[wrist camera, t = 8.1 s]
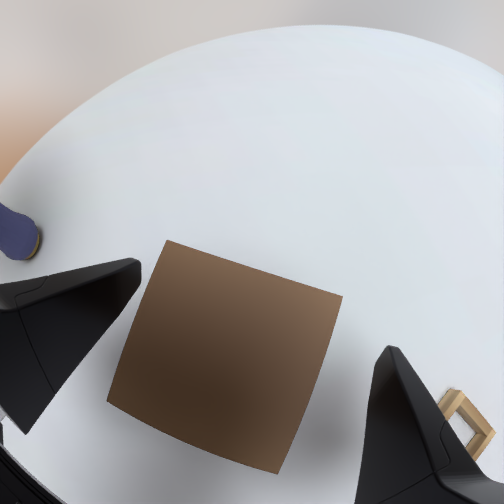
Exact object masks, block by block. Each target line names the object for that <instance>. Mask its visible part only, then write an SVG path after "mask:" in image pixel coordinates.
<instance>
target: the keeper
mask: <svg viewBox="0 0 504 504" xmlns="http://www.w3.org/2000/svg"><path fill="white" fill-rule="evenodd" d="M438 407H439V408H440V410H441V411H442V413H443V415H444V416H445V418H446V419H445V420H447V421H448V420H449V419H450V417H451V416H452V415H453V413H454V412H455V411H457V412H458V413H459V414H460V415H461V416H462V418H463V419H464V420H465V421H466V422H467V423H468V424H469V425H470V426H471V428H472V429H473V430H474V431H475V432H476V434H475V436H474V437H473V439H472V440H471V441H470V443H469V444H468V445H467V446H466V450H467V451H468V453H469V454H470V455H471V457H472V458H473V460H474V461H476V460H477V459H478V457H479V456H480V455H481V453H482V452H483V451H484V449H485V448H486V447H487V445H488V444H489V442H490V441H491V439H492V438H493V437H494V435H495V434H496V432H495V430H494V429H493V428H492V427H491V426H490V424H489V423H488V422H487V421H486V419H485V418H484V417H483V416H482V415H481V413H480V412H479V411H478V410H477V409H476V407H475V406H474V405H473V404H472V403H471V402H470V400H469V399H468V398H467V397H466V396H465V395H464V393H463V392H462V391H461V390H454V389H449V390H448V392H447V393H446V394H445V396H444V397H443V398H442V400H441V401H440V402H439V404H438Z"/></svg>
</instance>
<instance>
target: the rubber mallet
mask: <svg viewBox="0 0 504 504" xmlns="http://www.w3.org/2000/svg"><path fill="white" fill-rule="evenodd" d="M38 245H39V234H38V231H37V228H36V226H35V223H34V221H33V220H32V219H31V218H29V217H27V216H26V215H23V214H20V213H16V212H14V211H12V210H10V209H9V208H7V207H6V206H4V205H3V204H1V203H0V250H1V251H2V252H3V253H4V254H5V255H6V256H7V257H9V258H11V259H13V260H23V259H29V258H30V257H32V256H33V255H34V253H35V252H36V250H37V247H38Z"/></svg>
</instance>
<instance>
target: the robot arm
mask: <svg viewBox="0 0 504 504" xmlns="http://www.w3.org/2000/svg"><path fill="white" fill-rule="evenodd" d="M140 284H141V262H140V261H139V260H136V259H134V258H126V259H121V260H116V261H112V262H107V263H102V264H98V265H93V266H88V267H84V268H79V269H75V270H70V271H66V272H61V273H57V274H52V275H49V276H43V277H39V278H34V279H29V280H23V281H18V282H11V283H5V284H0V504H67V503H65V502H64V501H63V500H61V499H60V498H59V497H58V496H56V495H55V494H54V493H53V492H51V491H50V490H49V489H48V488H46V487H45V486H44V485H43V484H42V483H41V482H40V481H38V480H37V479H36V478H35V477H34V476H33V475H32V474H31V473H30V472H28V471H27V470H26V469H25V468H24V467H23V466H22V465H21V464H20V463H19V462H18V461H17V460H16V459H15V458H14V457H13V456H12V455H11V454H10V453H9V452H8V451H7V449H6V448H5V447H4V446H3V425H2V424H1V421H2V420H3V419H4V418H5V416H7V417H8V418H9V419H10V420H11V421H12V422H13V423H14V424H15V425H16V426H17V427H18V428H19V429H20V430H21V431H22V432H23V433H24V434H25V435H26V434H27V433H28V432H29V431H30V429H31V428H32V426H33V425H34V424H35V422H36V421H37V419H38V418H39V417H40V415H41V414H42V412H43V411H44V410H45V408H46V407H47V406H48V404H49V403H50V402H51V400H52V399H53V398H54V396H55V394H56V393H57V392H58V391H59V389H60V388H61V387H62V385H63V384H64V383H65V382H66V380H67V379H68V378H69V376H70V375H71V374H72V372H73V371H74V370H75V369H76V367H77V366H78V365H79V364H80V362H81V361H82V360H83V359H84V357H85V356H86V355H87V354H88V352H89V351H90V350H91V349H92V347H93V346H94V345H95V344H96V343H97V341H98V340H99V339H100V338H101V336H102V335H103V334H104V333H105V332H106V330H107V329H108V328H109V327H110V326H111V324H112V323H113V322H114V321H115V320H116V319H117V317H118V316H119V315H120V313H121V312H122V311H123V309H124V308H125V306H126V305H127V303H128V302H129V300H130V299H131V297H132V296H133V295H134V293H135V292H136V290H137V289H138V287H139V286H140ZM445 419H446V418H445V416H444V415H443V413H442V411H441V410H440V408H439V407H438V405H437V404H436V402H435V401H434V399H433V397H432V396H431V394H430V393H429V391H428V390H427V388H426V387H425V385H424V384H423V382H422V381H421V379H420V378H419V376H418V375H417V373H416V372H415V370H414V369H413V368H412V366H411V365H410V363H409V362H408V360H407V359H406V357H405V356H404V355H403V353H402V352H401V350H400V349H399V348H398V347H394V346H391V345H388V346H387V347H386V348H385V349H384V351H383V352H382V354H381V355H380V357H379V358H378V360H377V361H376V363H375V366H374V372H373V378H372V384H371V390H370V395H369V401H368V408H367V419H366V429H365V438H364V447H363V454H362V462H361V468H360V475H359V481H358V486H357V492H356V497H355V502H354V504H504V484H503V483H499V482H496V481H493V480H491V479H490V478H488V477H487V476H486V475H485V474H484V473H483V472H482V471H481V469H480V468H479V467H478V465H477V464H476V462H475V461H474V460H473V458H472V457H471V455H470V454H469V453H468V451H467V450H466V448H465V447H464V445H463V444H462V443H461V441H460V440H459V438H458V437H457V435H456V434H455V432H454V431H453V429H452V427H451V426H450V424H449V423H448V421H447V420H445Z"/></svg>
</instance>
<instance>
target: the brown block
mask: <svg viewBox="0 0 504 504" xmlns="http://www.w3.org/2000/svg"><path fill="white" fill-rule="evenodd" d="M342 298H343V296H340V295H336V294H333V293H330V292H327V291H324V290H320V289H317V288H314V287H311V286H308V285H304V284H301V283H298V282H295V281H292V280H289V279H286V278H282V277H279V276H276V275H273V274H270V273H267V272H264V271H260V270H257V269H254V268H251V267H248V266H245V265H242V264H239V263H236V262H233V261H230V260H227V259H223V258H220V257H217V256H214V255H211V254H208V253H205V252H202V251H199V250H196V249H193V248H190V247H187V246H184V245H181V244H178V243H175V242H172V241H169V240H167V241H166V243H165V245H164V247H163V250H162V252H161V254H160V256H159V259H158V261H157V263H156V266H155V268H154V271H153V273H152V275H151V278H150V280H149V283H148V285H147V288H146V290H145V292H144V295H143V297H142V300H141V303H140V305H139V308H138V310H137V313H136V316H135V318H134V321H133V324H132V326H131V329H130V332H129V334H128V337H127V340H126V343H125V346H124V348H123V351H122V354H121V357H120V360H119V363H118V366H117V369H116V372H115V375H114V378H113V382H112V385H111V388H110V391H109V394H108V398H107V402H109V403H110V404H112V405H114V406H115V407H117V408H119V409H120V410H122V411H124V412H126V413H127V414H129V415H131V416H133V417H135V418H136V419H138V420H140V421H142V422H144V423H146V424H148V425H150V426H152V427H154V428H156V429H158V430H160V431H162V432H164V433H166V434H168V435H170V436H172V437H174V438H176V439H179V440H181V441H183V442H185V443H188V444H190V445H192V446H195V447H197V448H200V449H202V450H205V451H207V452H210V453H212V454H215V455H218V456H220V457H223V458H226V459H229V460H232V461H235V462H237V463H241V464H244V465H247V466H250V467H253V468H256V469H260V470H263V471H267V472H271V473H274V474H278V472H279V470H280V468H281V466H282V464H283V462H284V460H285V457H286V455H287V453H288V451H289V448H290V446H291V444H292V441H293V439H294V437H295V434H296V432H297V430H298V427H299V425H300V422H301V420H302V417H303V415H304V412H305V410H306V407H307V405H308V402H309V399H310V397H311V394H312V391H313V389H314V386H315V383H316V380H317V378H318V375H319V372H320V369H321V366H322V363H323V360H324V357H325V354H326V351H327V348H328V345H329V342H330V339H331V336H332V332H333V329H334V326H335V323H336V319H337V316H338V312H339V309H340V305H341V302H342Z"/></svg>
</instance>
